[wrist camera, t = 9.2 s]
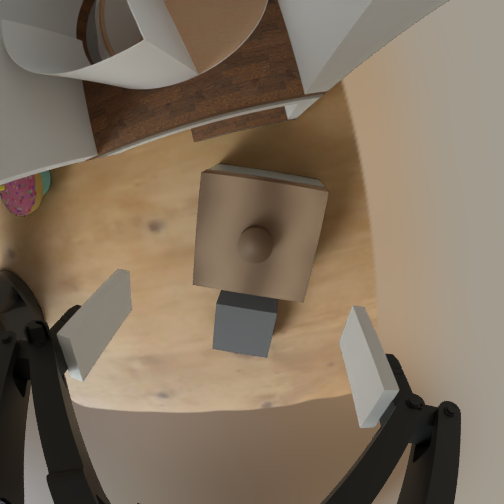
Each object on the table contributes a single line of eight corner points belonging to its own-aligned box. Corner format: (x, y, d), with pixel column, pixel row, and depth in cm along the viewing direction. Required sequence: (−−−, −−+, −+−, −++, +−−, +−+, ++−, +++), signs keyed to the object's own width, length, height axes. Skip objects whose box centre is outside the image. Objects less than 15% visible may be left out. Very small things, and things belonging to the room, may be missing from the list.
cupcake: (23, 202, 35) (-32, 226, 24) (24, 147, 32) (-36, 161, 21) (60, 210, 35) (1, 240, 24) (62, 150, 32) (-2, 165, 21)
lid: (198, 273, 31) (189, 291, 28) (207, 169, 27) (197, 174, 23) (302, 290, 31) (304, 310, 27) (324, 187, 27) (331, 195, 23)
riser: (218, 330, 40) (212, 348, 36) (222, 286, 37) (216, 303, 34) (268, 338, 40) (267, 357, 36) (277, 295, 37) (277, 313, 34)
